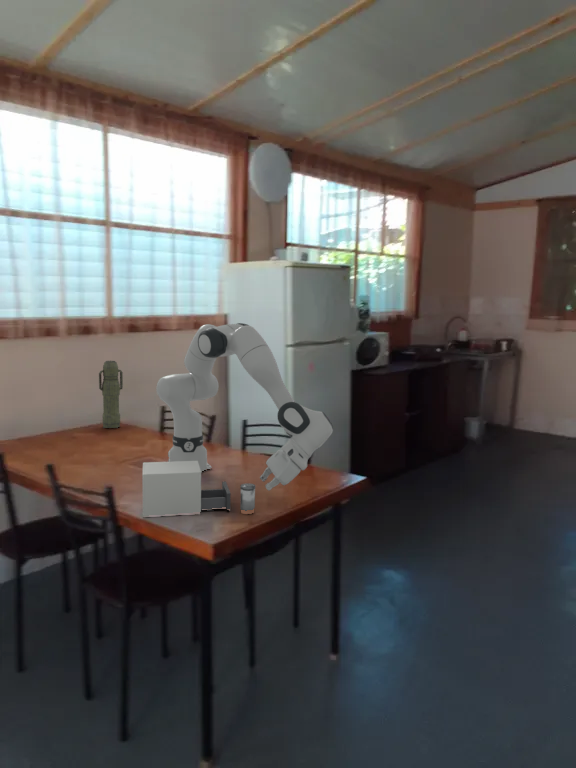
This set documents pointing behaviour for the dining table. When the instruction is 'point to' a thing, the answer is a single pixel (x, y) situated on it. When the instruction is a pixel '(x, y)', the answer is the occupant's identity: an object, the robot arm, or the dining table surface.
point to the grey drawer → (216, 497)
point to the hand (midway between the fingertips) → (264, 484)
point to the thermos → (111, 394)
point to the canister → (247, 496)
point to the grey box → (171, 487)
